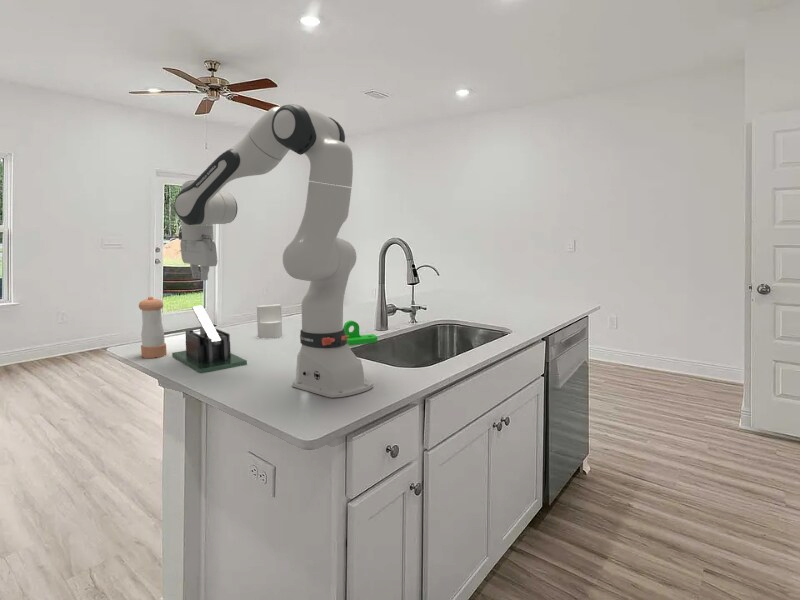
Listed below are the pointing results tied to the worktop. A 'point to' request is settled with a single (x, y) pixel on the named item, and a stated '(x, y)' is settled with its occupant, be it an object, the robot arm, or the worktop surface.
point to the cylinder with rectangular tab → (269, 321)
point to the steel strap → (207, 325)
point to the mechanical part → (357, 335)
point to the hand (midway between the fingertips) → (200, 279)
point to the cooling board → (208, 352)
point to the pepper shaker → (152, 329)
